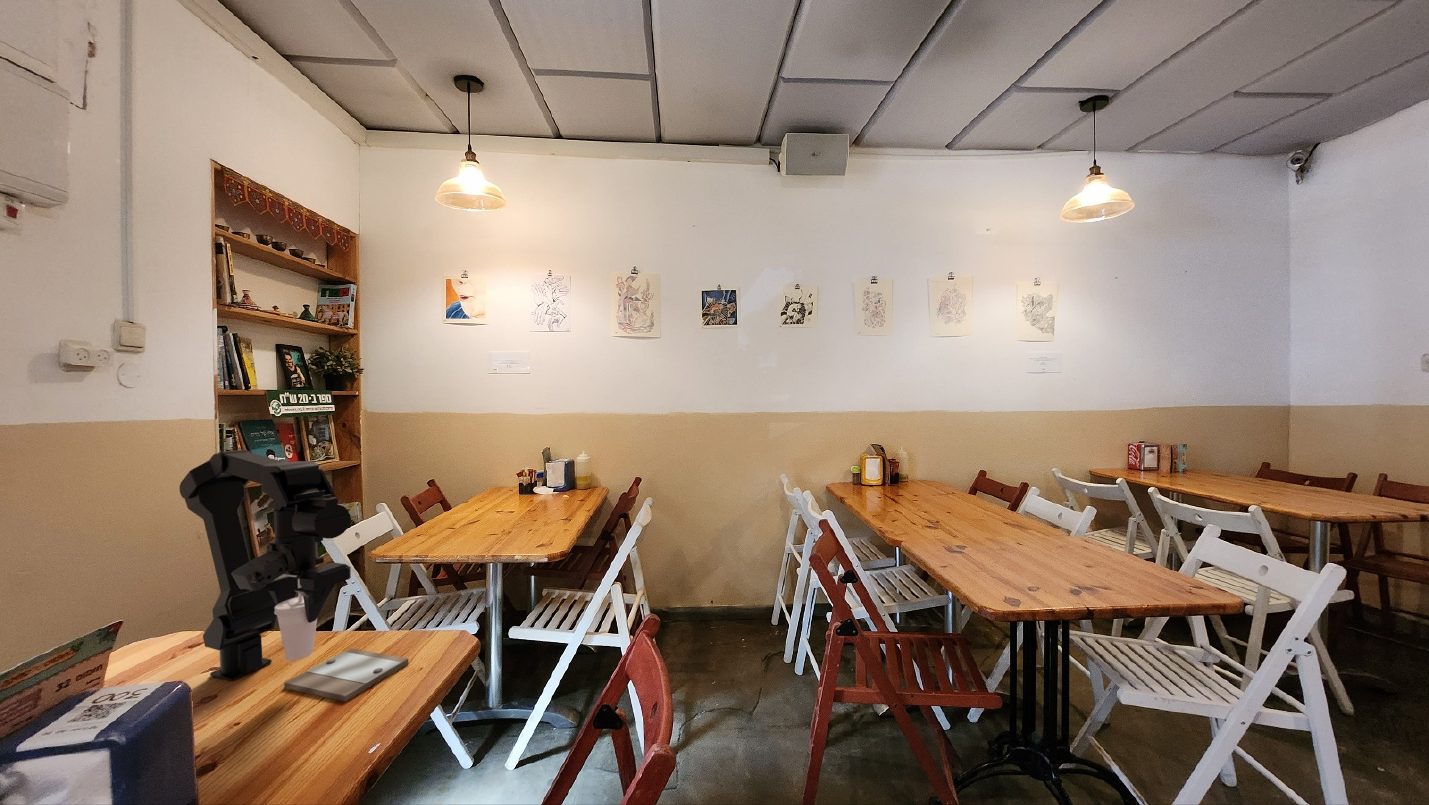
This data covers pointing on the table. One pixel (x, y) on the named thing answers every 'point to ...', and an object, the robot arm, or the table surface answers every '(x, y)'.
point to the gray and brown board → (346, 674)
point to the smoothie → (295, 628)
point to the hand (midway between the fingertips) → (298, 619)
